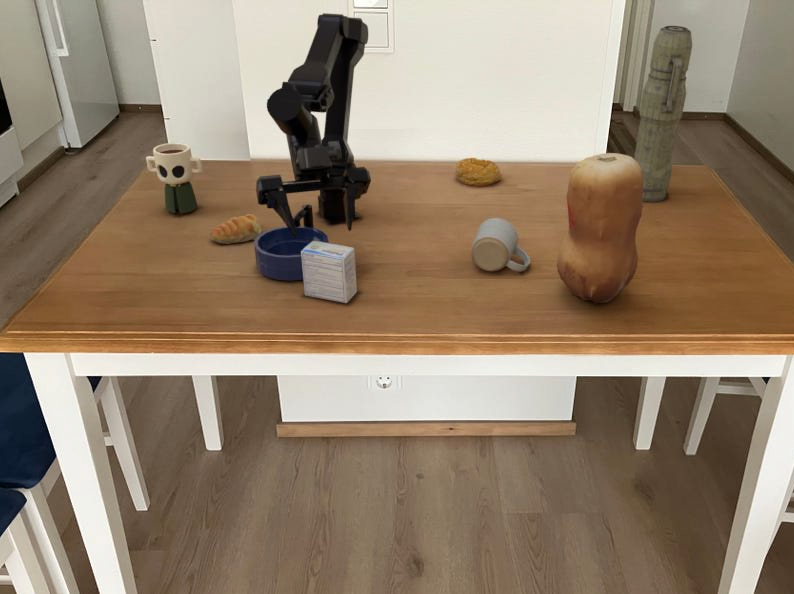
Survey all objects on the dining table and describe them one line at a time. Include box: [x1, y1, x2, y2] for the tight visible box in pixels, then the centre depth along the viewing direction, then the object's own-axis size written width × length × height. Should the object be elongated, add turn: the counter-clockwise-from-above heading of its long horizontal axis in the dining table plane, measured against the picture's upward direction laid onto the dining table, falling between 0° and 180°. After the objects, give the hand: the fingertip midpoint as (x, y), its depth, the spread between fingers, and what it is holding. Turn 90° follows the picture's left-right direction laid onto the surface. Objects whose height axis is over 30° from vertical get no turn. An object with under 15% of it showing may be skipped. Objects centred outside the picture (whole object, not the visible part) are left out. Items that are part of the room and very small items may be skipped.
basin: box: [253, 225, 330, 282], centre depth 140 cm, size 13×13×5 cm
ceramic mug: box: [470, 217, 531, 272], centre depth 141 cm, size 11×8×8 cm
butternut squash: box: [556, 152, 644, 304], centre depth 127 cm, size 14×13×25 cm
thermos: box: [633, 25, 693, 203], centre depth 165 cm, size 9×12×35 cm
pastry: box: [210, 213, 263, 245], centre depth 149 cm, size 9×7×4 cm
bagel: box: [453, 157, 503, 187], centre depth 178 cm, size 10×11×5 cm
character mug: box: [145, 142, 204, 214], centre depth 157 cm, size 11×7×13 cm, turn 90°
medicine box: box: [301, 241, 358, 304], centre depth 130 cm, size 8×4×9 cm, turn 71°
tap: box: [292, 203, 315, 228], centre depth 143 cm, size 7×4×9 cm, turn 166°
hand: (323, 233), depth 129 cm, fingers open, 9 cm apart
